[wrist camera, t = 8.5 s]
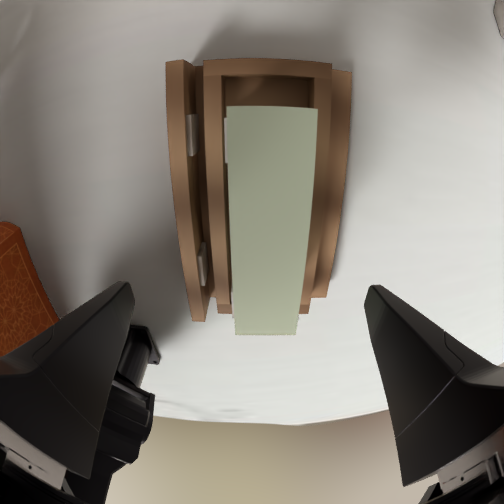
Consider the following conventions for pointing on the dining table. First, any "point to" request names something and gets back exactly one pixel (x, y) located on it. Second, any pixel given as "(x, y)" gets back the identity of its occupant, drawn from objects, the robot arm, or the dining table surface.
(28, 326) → the book
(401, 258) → the dining table surface
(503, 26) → the flask
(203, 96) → the box
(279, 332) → the pale green box
